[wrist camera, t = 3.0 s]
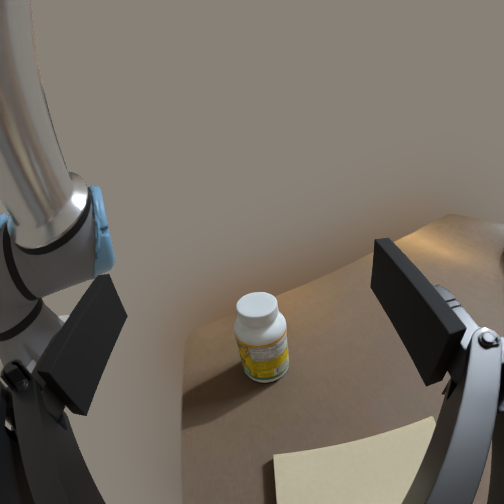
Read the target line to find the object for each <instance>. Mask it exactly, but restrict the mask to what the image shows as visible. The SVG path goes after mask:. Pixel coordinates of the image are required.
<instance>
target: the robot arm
mask: <svg viewBox="0 0 504 504" xmlns="http://www.w3.org/2000/svg"><path fill="white" fill-rule="evenodd" d="M0 200H1V201H2V203H3V205H4V206H5V208H6V210H7V211H8V213H9V216H8V217H7V216H6V214H4V213H2V214H1V215H0V359H1V362H2V364H3V369H2V371H1V374H0V377H1V378H2V380H3V381H4V382H5V383H6V384H7V386H8V387H5V386H4V384H3V383H2V382H1V381H0V504H105V502H104V500H103V498H102V496H101V494H100V493H99V491H98V489H97V487H96V485H95V483H94V481H93V478H92V476H91V474H90V472H89V470H88V468H87V466H86V463H85V461H84V459H83V456H82V454H81V452H80V449H79V447H78V444H77V442H76V439H75V436H74V434H73V431H72V428H71V425H70V422H69V419H68V416H67V415H66V413H65V412H64V411H63V410H64V408H65V406H67V407H68V408H69V410H70V411H71V412H72V413H74V414H79V415H84V416H87V413H88V410H89V407H90V405H91V402H92V399H93V397H94V394H95V391H96V389H97V386H98V384H99V381H100V379H101V376H102V374H103V371H104V369H105V366H106V364H107V361H108V359H109V357H110V354H111V352H112V350H113V347H114V345H115V343H116V340H117V338H118V336H119V334H120V331H121V329H122V327H123V325H124V323H125V321H126V318H127V314H126V312H125V310H124V307H123V305H122V303H121V301H120V298H119V296H118V294H117V291H116V289H115V287H114V284H113V282H112V280H111V277H110V275H109V274H106V275H100V274H103V273H105V272H107V271H109V270H111V268H112V267H113V266H114V263H115V257H114V251H113V246H112V242H111V237H110V233H109V229H108V224H107V218H106V213H105V208H104V203H103V198H102V193H101V189H100V188H99V187H97V186H94V187H92V186H90V187H88V188H87V185H86V184H85V182H84V180H83V178H81V176H79V175H77V174H75V173H73V172H68V170H67V167H66V165H65V162H64V159H63V156H62V153H61V150H60V147H59V144H58V141H57V137H56V134H55V131H54V127H53V124H52V120H51V117H50V113H49V109H48V105H47V101H46V97H45V93H44V89H43V84H42V80H41V75H40V69H39V64H38V59H37V53H36V46H35V39H34V30H33V21H32V8H31V0H0ZM374 243H375V244H374V256H373V267H372V278H371V289H372V290H373V292H374V294H375V295H376V297H377V299H378V300H379V302H380V304H381V305H382V307H383V309H384V310H385V312H386V314H387V315H388V317H389V319H390V321H391V322H392V324H393V326H394V327H395V329H396V331H397V333H398V335H399V336H400V338H401V340H402V342H403V344H404V345H405V347H406V349H407V351H408V353H409V355H410V356H411V358H412V360H413V362H414V364H415V366H416V368H417V370H418V372H419V374H420V376H421V378H422V379H423V381H424V383H425V385H426V386H429V385H431V384H434V383H437V382H439V381H442V379H443V378H444V376H445V374H446V372H447V371H448V372H449V374H450V376H451V378H450V380H449V382H448V384H447V385H446V387H445V389H444V391H443V392H442V394H445V392H446V394H445V397H444V401H443V404H442V408H441V411H440V414H439V417H438V420H437V423H436V426H435V429H434V432H433V435H432V438H431V440H430V443H429V446H428V448H427V451H426V453H425V456H424V458H423V460H422V463H421V465H420V467H419V470H418V472H417V474H416V476H415V478H414V480H413V482H412V484H411V486H410V488H409V490H408V492H407V494H406V496H405V498H404V500H403V502H402V504H472V503H473V500H474V498H475V495H476V492H477V490H478V487H479V484H480V481H481V477H482V474H483V471H484V467H485V464H486V460H487V457H488V453H489V448H490V444H491V440H492V461H491V475H490V486H489V494H488V501H487V504H504V337H499V335H498V334H497V333H496V332H495V331H493V330H491V329H489V328H479V326H478V325H477V324H476V323H475V321H474V320H473V319H472V318H471V316H470V315H469V314H468V313H467V311H466V310H465V309H464V308H463V307H462V306H461V304H460V303H459V302H458V301H457V300H455V297H454V296H453V295H452V294H451V293H450V291H449V290H447V289H445V288H444V287H442V286H440V285H435V286H433V285H432V284H431V283H430V282H429V281H428V280H427V279H426V277H425V276H424V275H423V274H422V273H421V272H420V271H419V270H418V268H417V267H416V266H415V265H414V264H413V263H412V262H411V261H410V260H409V259H408V258H407V256H406V255H405V254H404V253H403V252H402V251H401V250H400V249H399V248H398V247H397V246H396V245H395V244H394V243H393V242H392V241H391V240H390V239H389V238H382V239H375V242H374ZM96 276H97V277H96ZM90 279H95V280H94V281H93V282H92V284H91V285H90V287H89V288H88V289H87V291H86V292H85V294H84V295H83V296H82V298H81V299H80V301H79V302H78V304H77V305H76V307H75V308H74V310H73V311H72V313H71V314H70V316H69V317H68V319H67V320H66V322H65V323H64V322H63V321H62V320H61V319H60V318H59V317H58V316H57V315H56V314H54V313H53V312H52V311H51V310H50V309H49V308H48V307H47V306H46V305H45V304H44V302H43V300H42V297H44V296H47V295H49V294H52V293H54V292H57V291H60V290H62V289H65V288H68V287H71V286H73V285H76V284H79V283H82V282H84V281H87V280H90ZM5 420H6V421H7V422H8V423H9V424H10V425H11V426H12V427H11V430H9V429H8V428H7V427H6V426H5Z"/></svg>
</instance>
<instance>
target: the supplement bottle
mask: <svg viewBox="0 0 504 504" xmlns="http://www.w3.org/2000/svg"><path fill="white" fill-rule="evenodd" d="M236 309H237V316H238V318H237V320H236V322H235V325H234V331H235V336H236V340H237V344H238V348H239V352H240V356H241V360H242V365H243V368H244V371H245V373H246V374H247V375H248V376H249V377H250V378H251V379H252V380H254V381H257V382H263V383H266V382H272V381H275V380H277V379H279V378H281V377H282V376H283V375H284V374H285V373H286V371H287V370H288V366H289V357H288V344H287V330H286V321H285V319H284V317H283V315H282V314H281V313H280V312H279V311H278V305H277V300H276V298H275V297H274V296H272V295H271V294H268V293H264V292H256V293H250V294H247V295H245V296H243V297H242V298H241V299H240V300H239V301H238V303H237V305H236Z"/></svg>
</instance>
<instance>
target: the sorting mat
mask: <svg viewBox="0 0 504 504" xmlns="http://www.w3.org/2000/svg"><path fill="white" fill-rule="evenodd" d="M435 426H436V423H435V421H434V419H433V416H431V417H429V418H426V419H423V420H421V421H418V422H416V423H413V424H410V425H407V426H404V427H401V428H398V429H395V430H392V431H389V432H386V433H382V434H379V435H375V436H372V437H368V438H364V439H361V440H357V441H353V442H348V443H344V444H339V445H335V446H330V447H324V448H319V449H313V450H307V451H300V452H293V453H285V454H276V455H273V461H274V473H275V487H276V500H277V504H402V502H403V500H404V498H405V496H406V494H407V492H408V490H409V488H410V486H411V484H412V482H413V480H414V478H415V476H416V474H417V472H418V470H419V467H420V465H421V463H422V460H423V458H424V456H425V453H426V451H427V448H428V446H429V443H430V440H431V438H432V435H433V432H434V429H435Z"/></svg>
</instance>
